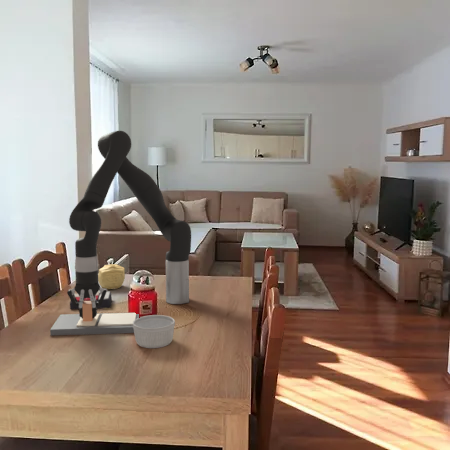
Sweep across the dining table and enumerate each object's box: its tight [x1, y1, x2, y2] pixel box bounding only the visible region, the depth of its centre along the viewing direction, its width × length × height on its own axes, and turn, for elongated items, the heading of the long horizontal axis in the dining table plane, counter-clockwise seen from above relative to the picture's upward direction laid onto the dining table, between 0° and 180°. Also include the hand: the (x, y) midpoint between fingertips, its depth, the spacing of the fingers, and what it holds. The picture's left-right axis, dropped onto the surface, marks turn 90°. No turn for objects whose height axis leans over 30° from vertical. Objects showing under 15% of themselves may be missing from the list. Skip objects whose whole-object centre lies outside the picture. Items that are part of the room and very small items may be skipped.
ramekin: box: [133, 314, 176, 349], centre depth 162 cm, size 13×13×7 cm
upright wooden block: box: [76, 301, 100, 326], centre depth 176 cm, size 6×12×6 cm, turn 6°
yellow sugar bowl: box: [98, 263, 126, 290], centre depth 227 cm, size 11×12×11 cm
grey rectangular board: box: [49, 312, 139, 336], centre depth 176 cm, size 28×16×2 cm, turn 96°
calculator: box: [69, 291, 113, 310], centre depth 202 cm, size 11×4×15 cm
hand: (88, 317), depth 176 cm, fingers closed on upright wooden block, 3 cm apart
